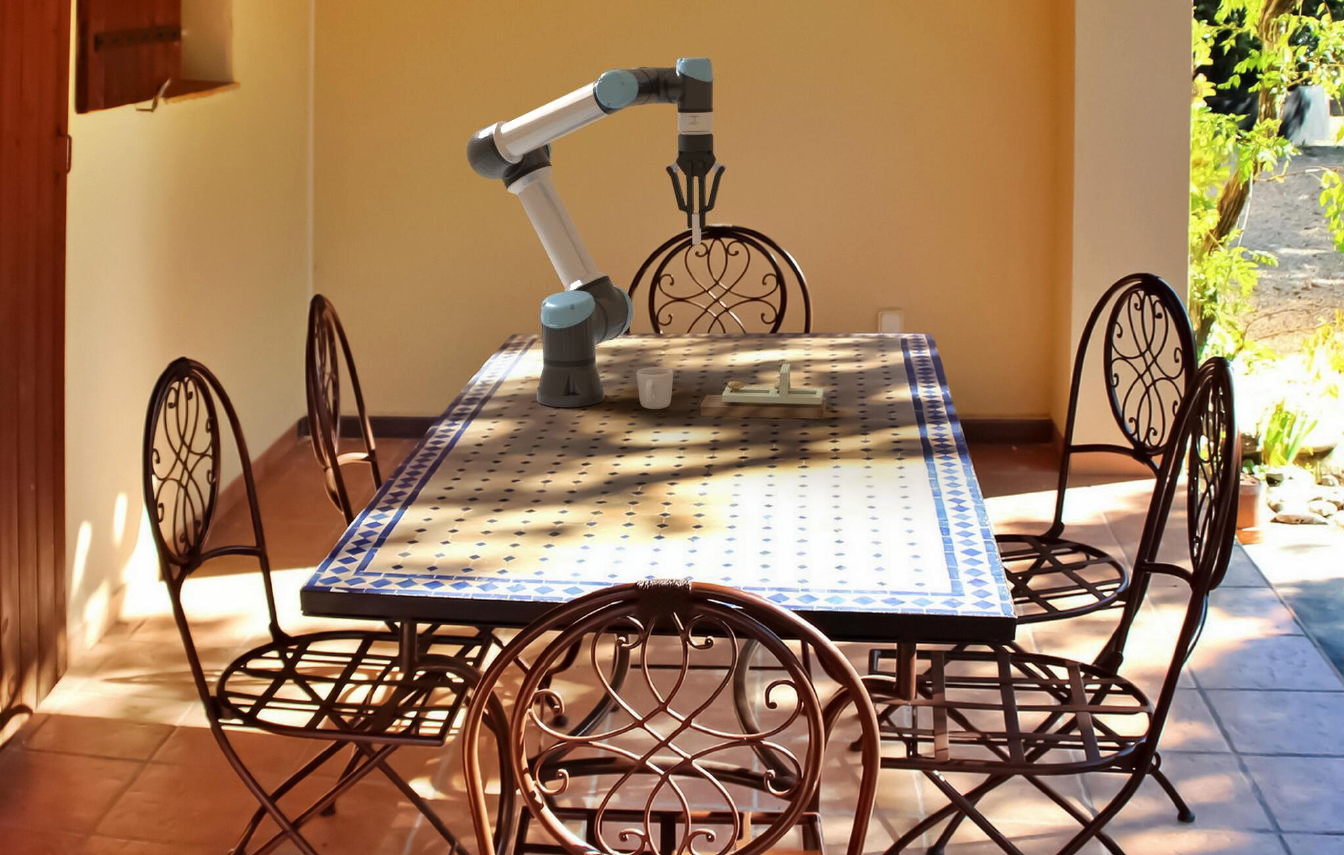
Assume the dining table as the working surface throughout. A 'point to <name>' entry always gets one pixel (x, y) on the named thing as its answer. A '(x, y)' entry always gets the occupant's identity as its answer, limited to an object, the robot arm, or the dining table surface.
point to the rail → (759, 407)
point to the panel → (776, 392)
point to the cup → (655, 387)
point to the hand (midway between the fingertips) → (696, 243)
